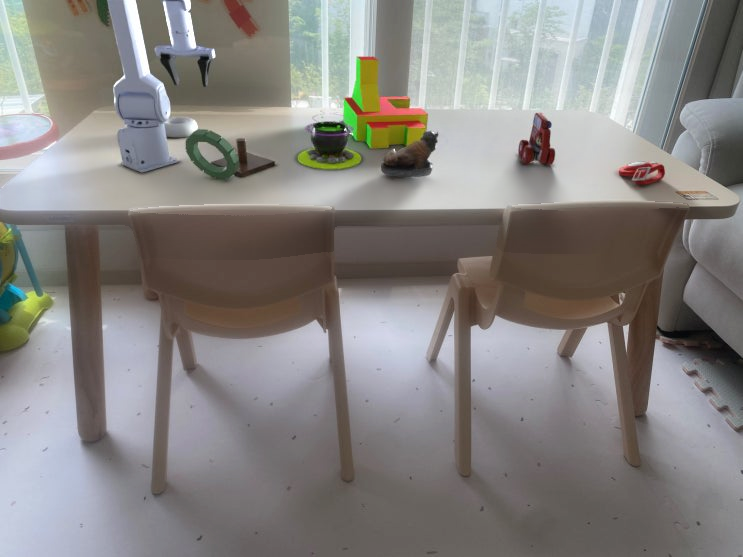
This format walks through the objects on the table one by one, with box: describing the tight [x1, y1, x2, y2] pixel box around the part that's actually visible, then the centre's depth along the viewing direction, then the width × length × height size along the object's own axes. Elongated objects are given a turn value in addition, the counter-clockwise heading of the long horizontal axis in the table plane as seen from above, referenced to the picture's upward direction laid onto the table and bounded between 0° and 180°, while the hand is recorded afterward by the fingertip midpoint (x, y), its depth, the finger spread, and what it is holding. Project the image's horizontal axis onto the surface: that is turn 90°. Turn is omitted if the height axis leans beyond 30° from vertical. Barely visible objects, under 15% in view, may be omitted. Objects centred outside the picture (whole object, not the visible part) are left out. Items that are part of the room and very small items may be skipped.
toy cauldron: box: [297, 108, 362, 170], centre depth 123 cm, size 15×15×11 cm
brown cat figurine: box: [380, 130, 439, 178], centre depth 115 cm, size 12×7×10 cm, turn 89°
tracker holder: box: [617, 161, 666, 185], centre depth 121 cm, size 12×4×10 cm
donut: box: [164, 116, 199, 139], centre depth 136 cm, size 10×4×10 cm
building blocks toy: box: [342, 56, 429, 149], centre depth 140 cm, size 19×25×18 cm
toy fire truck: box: [517, 112, 556, 166], centre depth 127 cm, size 7×12×10 cm, turn 178°
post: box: [210, 137, 276, 178], centre depth 118 cm, size 10×10×6 cm
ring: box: [185, 128, 239, 180], centre depth 108 cm, size 11×11×2 cm
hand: (191, 84), depth 139 cm, fingers open, 7 cm apart
